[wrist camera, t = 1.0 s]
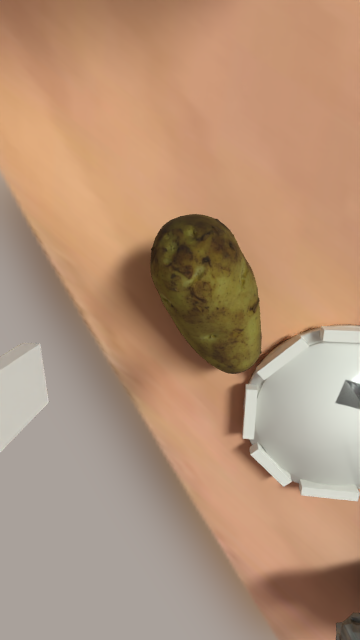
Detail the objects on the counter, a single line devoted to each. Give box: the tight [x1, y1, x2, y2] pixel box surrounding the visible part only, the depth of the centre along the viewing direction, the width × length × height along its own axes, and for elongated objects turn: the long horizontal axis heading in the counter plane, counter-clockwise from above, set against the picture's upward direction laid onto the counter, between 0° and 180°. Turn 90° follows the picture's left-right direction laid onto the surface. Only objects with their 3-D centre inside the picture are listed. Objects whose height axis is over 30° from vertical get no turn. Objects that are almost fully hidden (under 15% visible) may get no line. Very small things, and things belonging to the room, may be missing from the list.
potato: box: [150, 214, 262, 374], centre depth 24 cm, size 8×13×8 cm, turn 3°
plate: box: [242, 324, 360, 501], centre depth 29 cm, size 17×17×2 cm
